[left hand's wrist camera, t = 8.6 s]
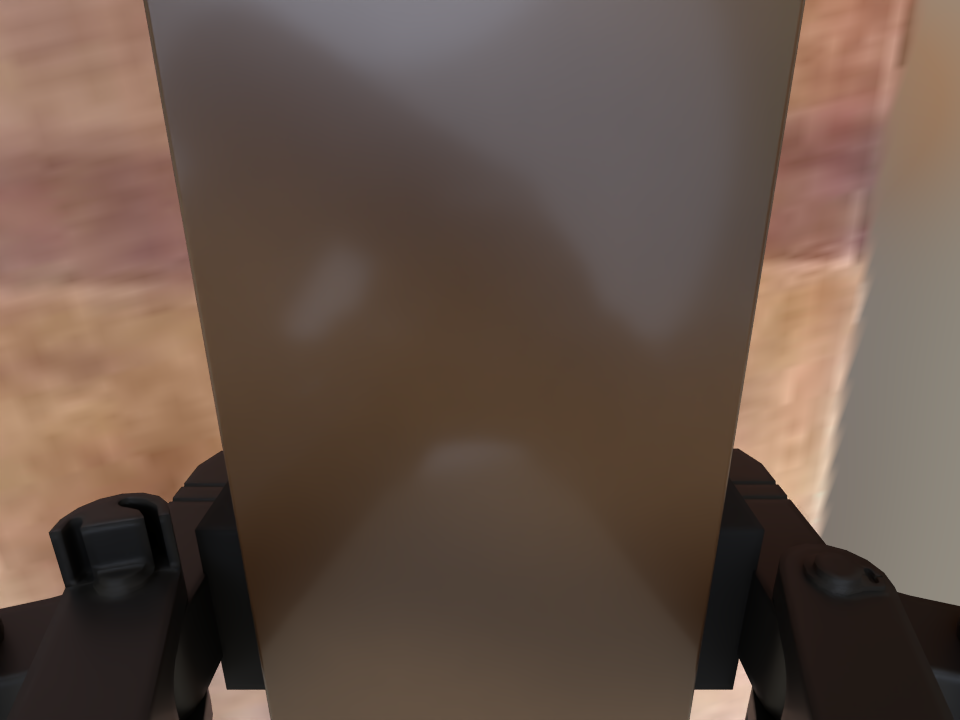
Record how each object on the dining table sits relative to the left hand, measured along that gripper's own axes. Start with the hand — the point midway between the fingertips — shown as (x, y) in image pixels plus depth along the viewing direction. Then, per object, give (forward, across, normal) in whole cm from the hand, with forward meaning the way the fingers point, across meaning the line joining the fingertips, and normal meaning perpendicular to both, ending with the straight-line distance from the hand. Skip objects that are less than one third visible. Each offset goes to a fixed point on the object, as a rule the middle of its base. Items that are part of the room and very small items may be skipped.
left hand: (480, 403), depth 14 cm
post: (+1, 0, -36) cm, 36 cm away
